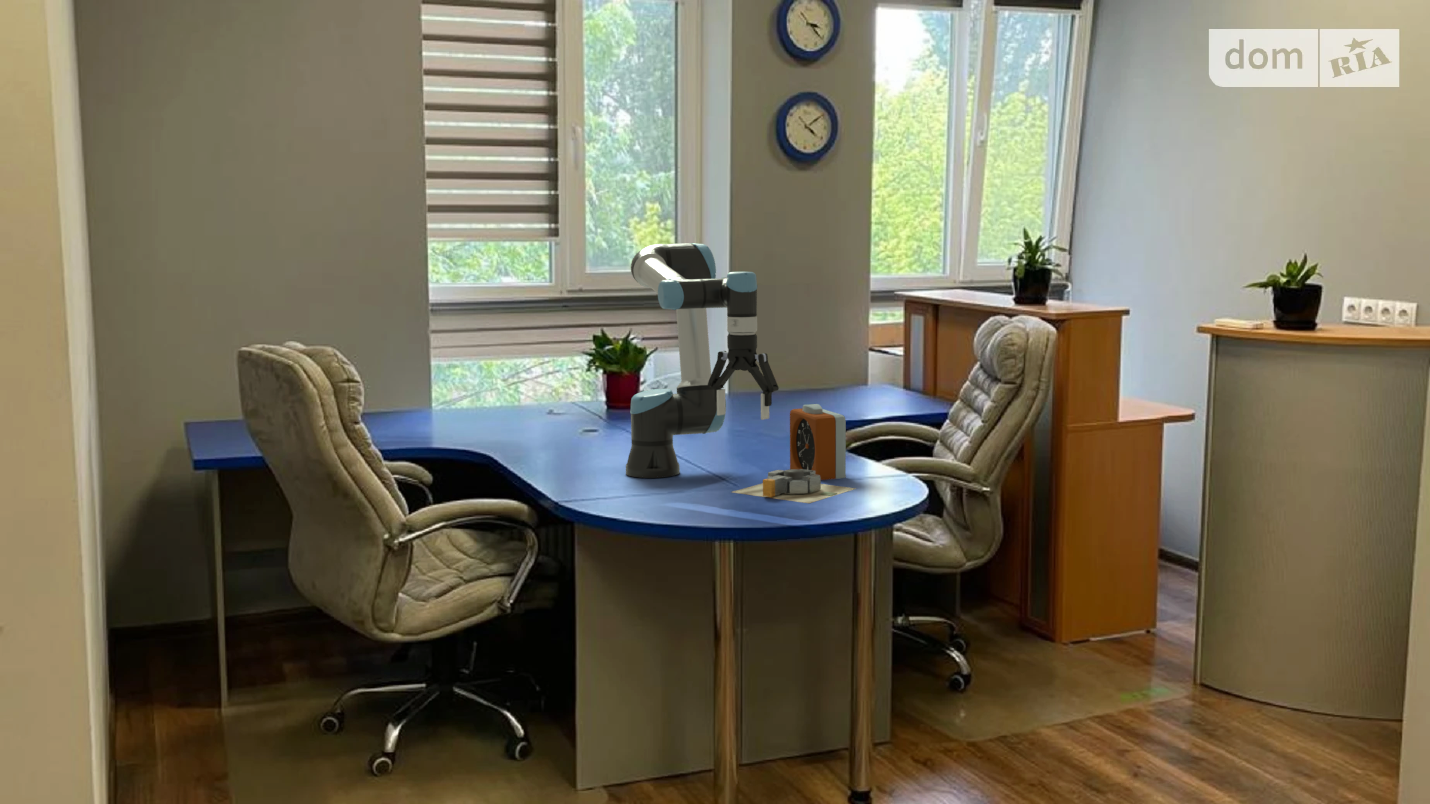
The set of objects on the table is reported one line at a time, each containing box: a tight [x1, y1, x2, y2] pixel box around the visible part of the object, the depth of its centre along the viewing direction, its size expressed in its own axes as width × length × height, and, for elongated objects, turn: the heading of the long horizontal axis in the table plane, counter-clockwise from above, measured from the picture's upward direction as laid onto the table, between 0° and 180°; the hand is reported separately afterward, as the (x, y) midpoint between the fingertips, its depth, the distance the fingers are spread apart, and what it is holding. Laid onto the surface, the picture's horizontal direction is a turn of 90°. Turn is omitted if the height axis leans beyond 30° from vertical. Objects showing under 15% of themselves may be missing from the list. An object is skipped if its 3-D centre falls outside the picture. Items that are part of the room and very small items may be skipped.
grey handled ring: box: [762, 469, 822, 497], centre depth 342 cm, size 18×13×4 cm
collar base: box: [731, 468, 857, 504], centre depth 344 cm, size 24×22×6 cm
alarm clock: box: [789, 403, 847, 481], centre depth 366 cm, size 18×9×21 cm, turn 21°
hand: (742, 417), depth 341 cm, fingers open, 13 cm apart
